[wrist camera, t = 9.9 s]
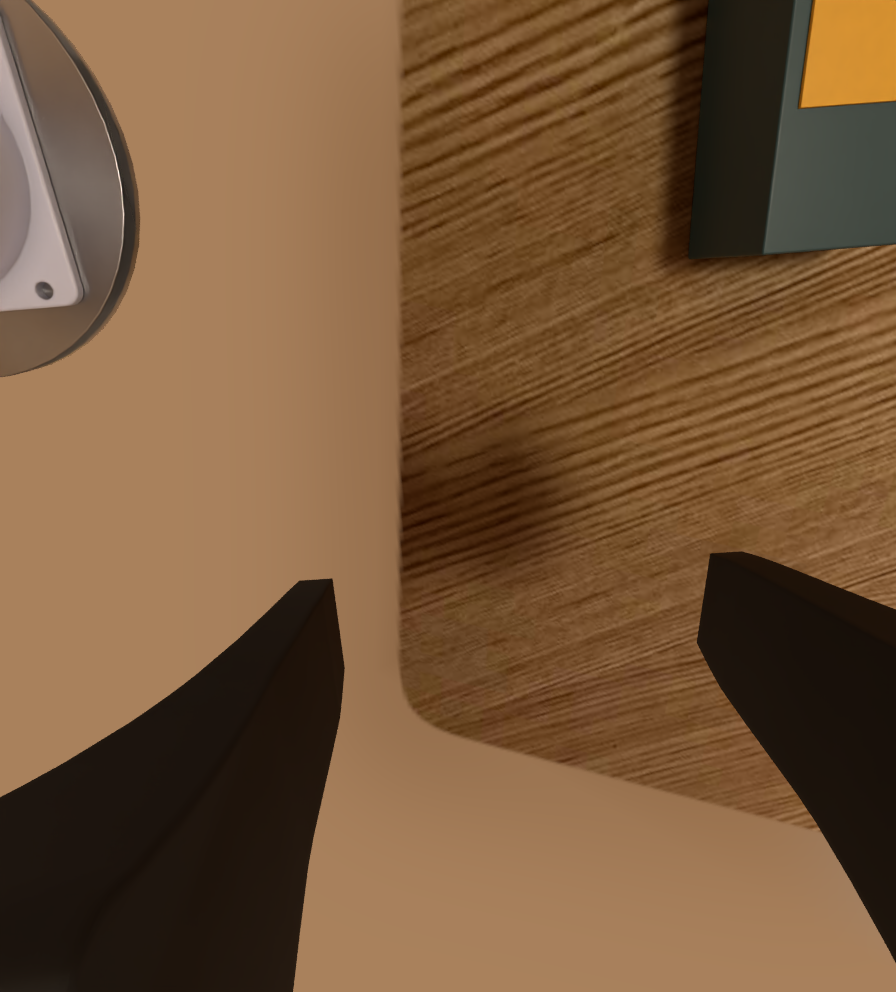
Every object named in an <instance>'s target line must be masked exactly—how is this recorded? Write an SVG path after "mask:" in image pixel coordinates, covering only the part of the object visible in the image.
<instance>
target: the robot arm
mask: <svg viewBox="0 0 896 992" xmlns="http://www.w3.org/2000/svg"><path fill="white" fill-rule="evenodd" d="M45 283H48V284H49V285H50V286H51V288H52V289H53V296H52V298H51V299H50V298H49V297H47V296H46V295H45V293H44V291H43V286H44V284H45ZM82 297H83V287H82V284H81V280H80V277H79V274H78V270H77V267H76V264H75V260H74V257H73V254H72V251H71V247H70V244H69V241H68V237H67V234H66V231H65V227H64V224H63V221H62V218H61V214H60V211H59V208H58V204H57V201H56V198H55V194H54V191H53V188H52V184H51V181H50V178H49V175H48V171H47V168H46V165H45V161H44V158H43V155H42V151H41V148H40V145H39V142H38V138H37V135H36V132H35V128H34V125H33V122H32V118H31V115H30V112H29V108H28V105H27V102H26V99H25V95H24V92H23V89H22V85H21V82H20V79H19V75H18V72H17V69H16V66H15V62H14V59H13V56H12V52H11V49H10V46H9V42H8V39H7V36H6V32H5V29H4V26H3V23H2V19H1V16H0V312H1V311H13V310H25V309H38V308H50V307H62V306H72V305H76V304H78V303H79V302H80V301H81V300H82ZM697 644H698V646H699V648H700V650H701V652H702V654H703V656H704V658H705V660H706V662H707V664H708V666H709V668H710V670H711V671H712V673H713V675H714V677H715V679H716V680H717V682H718V684H719V686H720V688H721V689H722V691H723V692H724V694H725V695H726V696H727V698H728V699H729V701H730V702H731V704H732V705H733V706H734V708H735V709H736V711H737V712H738V713H739V715H740V716H741V718H742V719H743V720H744V722H745V723H746V725H747V726H748V727H749V729H750V730H751V732H752V733H753V734H754V736H755V737H756V738H757V740H758V741H759V742H760V744H761V745H762V747H763V748H764V749H765V751H766V752H767V753H768V755H769V756H770V758H771V759H772V760H773V762H774V763H775V764H776V766H777V767H778V769H779V770H780V771H781V773H782V774H783V775H784V777H785V778H786V780H787V781H788V782H789V784H790V785H791V786H792V788H793V789H794V791H795V792H796V793H797V795H798V796H799V798H800V799H801V801H802V802H803V804H804V805H805V807H806V808H807V810H808V811H809V813H810V814H811V816H812V817H813V819H814V820H815V822H816V823H817V825H818V827H819V828H820V830H821V832H822V833H823V835H824V837H825V838H826V840H827V842H828V843H829V845H830V847H831V848H832V850H833V852H834V853H835V855H836V857H837V859H838V860H839V862H840V864H841V865H842V867H843V869H844V870H845V872H846V874H847V876H848V877H849V879H850V880H851V882H852V884H853V886H854V888H855V889H856V891H857V893H858V895H859V897H860V899H861V900H862V902H863V904H864V906H865V908H866V909H867V911H868V913H869V915H870V917H871V918H872V920H873V922H874V924H875V926H876V927H877V929H878V931H879V933H880V934H881V936H882V938H883V940H884V942H885V944H886V945H887V947H888V949H889V951H890V953H891V955H892V956H893V959H894V960H895V962H896V609H893V608H890V607H888V606H885V605H882V604H880V603H877V602H875V601H872V600H869V599H867V598H864V597H862V596H859V595H857V594H854V593H851V592H849V591H846V590H844V589H841V588H839V587H836V586H834V585H831V584H829V583H826V582H824V581H822V580H819V579H817V578H814V577H812V576H809V575H807V574H804V573H802V572H799V571H797V570H794V569H792V568H789V567H786V566H784V565H781V564H778V563H776V562H773V561H770V560H768V559H765V558H762V557H759V556H756V555H753V554H749V553H745V552H727V553H711V554H710V559H709V566H708V572H707V579H706V585H705V592H704V598H703V605H702V612H701V618H700V625H699V631H698V638H697ZM344 669H345V668H344V661H343V653H342V646H341V639H340V631H339V624H338V616H337V609H336V602H335V594H334V587H333V580H332V579H320V580H305V581H299V582H298V583H297V584H295V585H294V586H293V587H292V588H291V589H290V590H289V591H288V592H287V593H286V594H285V595H284V596H283V597H282V598H281V599H280V600H279V601H278V602H277V603H276V604H275V605H274V606H273V607H272V608H271V609H270V610H268V612H266V613H265V615H263V616H262V617H261V618H260V619H259V620H258V621H257V622H256V623H255V624H254V625H253V626H252V627H250V628H249V629H248V630H247V631H246V632H245V633H244V634H243V635H242V636H241V637H240V638H239V639H238V640H237V641H235V642H234V643H233V644H232V645H231V646H229V647H228V648H227V649H226V650H225V651H224V652H222V653H221V654H220V655H219V656H218V657H217V658H215V659H214V660H213V661H212V662H211V663H209V664H208V665H207V666H206V667H205V668H203V669H202V670H201V671H200V672H199V673H198V674H196V675H195V676H194V677H193V678H191V679H190V680H189V681H188V682H186V683H185V684H184V685H182V686H181V687H180V688H178V689H177V690H176V691H174V692H173V693H172V694H170V695H169V696H168V697H166V698H165V699H163V700H162V701H160V702H159V703H158V704H156V705H155V706H153V707H152V708H151V709H149V710H148V711H146V712H145V713H143V714H142V715H140V716H139V717H137V718H136V719H134V720H133V721H131V722H130V723H129V724H127V725H125V726H124V727H122V728H120V729H119V730H117V731H115V732H114V733H112V734H110V735H109V736H107V737H106V738H104V739H102V740H101V741H99V742H97V743H96V744H94V745H92V746H91V747H89V748H88V749H86V750H84V751H83V752H81V753H79V754H78V755H76V756H75V757H73V758H71V759H70V760H68V761H67V762H65V763H63V764H61V765H59V766H58V767H56V768H54V769H52V770H51V771H49V772H47V773H45V774H43V775H41V776H39V777H38V778H36V779H34V780H32V781H30V782H29V783H27V784H25V785H23V786H21V787H19V788H17V789H15V790H13V791H12V792H10V793H8V794H6V795H4V796H2V797H0V992H293V987H294V978H295V970H296V961H297V952H298V944H299V935H300V927H301V919H302V911H303V903H304V896H305V887H306V879H307V871H308V864H309V859H310V853H311V848H312V843H313V837H314V832H315V828H316V824H317V819H318V815H319V810H320V806H321V801H322V797H323V792H324V788H325V783H326V779H327V775H328V770H329V765H330V761H331V757H332V752H333V747H334V743H335V738H336V734H337V729H338V724H339V719H340V712H341V703H342V693H343V681H344Z"/></svg>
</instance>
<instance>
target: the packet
mask: <svg viewBox="0 0 896 992" xmlns="http://www.w3.org/2000/svg"><path fill="white" fill-rule="evenodd" d="M893 244H896V0H709V4H708V16H707V29H706V41H705V54H704V67H703V79H702V92H701V105H700V117H699V130H698V142H697V155H696V168H695V180H694V193H693V206H692V218H691V231H690V243H689V256H688V258H689V259H702V258H721V257H740V256H759V255H773V254H785V253H797V252H809V251H821V250H833V249H845V248H857V247H869V246H881V245H893Z"/></svg>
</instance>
